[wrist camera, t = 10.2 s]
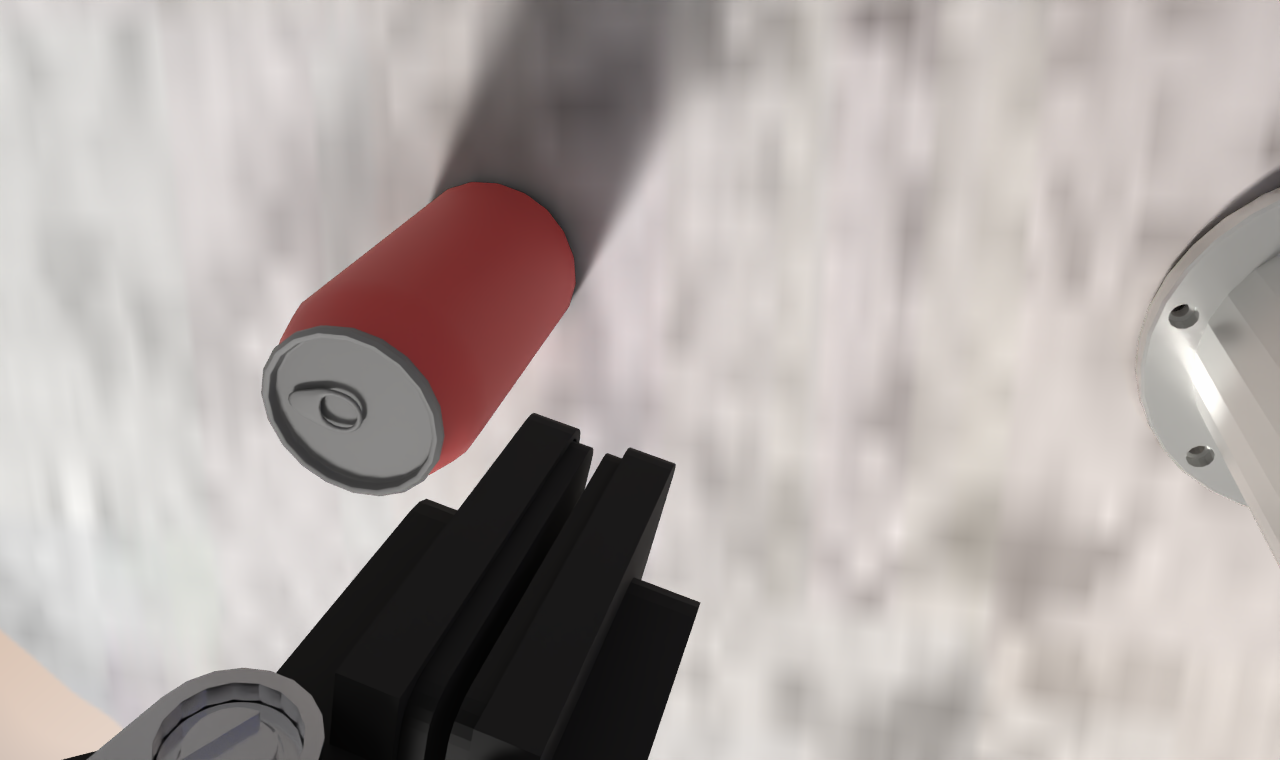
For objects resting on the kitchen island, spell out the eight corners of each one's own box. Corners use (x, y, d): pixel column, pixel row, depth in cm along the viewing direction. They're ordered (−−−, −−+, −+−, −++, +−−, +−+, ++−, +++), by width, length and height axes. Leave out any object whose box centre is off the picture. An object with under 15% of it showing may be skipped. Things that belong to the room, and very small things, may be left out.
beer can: (421, 160, 36) (232, 288, 26) (589, 195, 35) (461, 342, 25) (419, 314, 39) (252, 481, 29) (572, 350, 38) (454, 535, 28)
